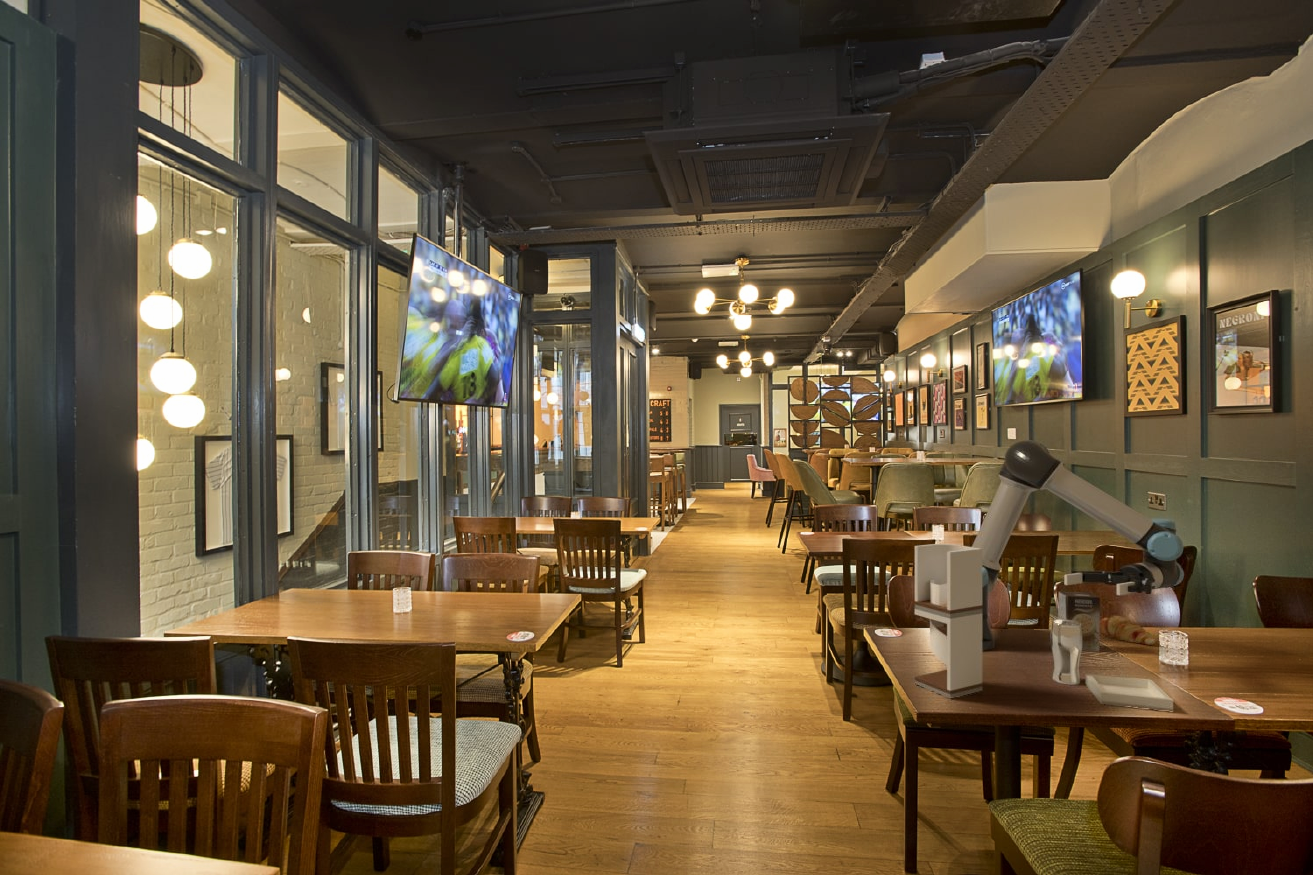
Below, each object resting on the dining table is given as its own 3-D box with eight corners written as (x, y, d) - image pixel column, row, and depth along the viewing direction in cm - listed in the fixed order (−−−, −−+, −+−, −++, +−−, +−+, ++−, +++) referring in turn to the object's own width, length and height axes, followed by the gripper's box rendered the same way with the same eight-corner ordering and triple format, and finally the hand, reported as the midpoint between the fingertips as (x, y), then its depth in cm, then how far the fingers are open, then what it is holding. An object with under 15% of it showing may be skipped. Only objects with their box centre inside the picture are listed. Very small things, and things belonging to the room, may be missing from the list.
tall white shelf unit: (946, 677, 174) (945, 542, 174) (982, 691, 165) (982, 548, 165) (914, 684, 169) (914, 545, 169) (950, 699, 160) (950, 552, 160)
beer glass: (1087, 686, 168) (1087, 626, 168) (1056, 684, 169) (1056, 625, 170) (1075, 676, 175) (1075, 619, 175) (1046, 675, 176) (1046, 618, 176)
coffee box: (1066, 650, 198) (1066, 595, 198) (1057, 643, 204) (1057, 590, 204) (1100, 651, 196) (1100, 597, 196) (1090, 645, 202) (1090, 592, 202)
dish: (1101, 704, 157) (1101, 692, 157) (1085, 683, 170) (1085, 672, 170) (1173, 712, 152) (1173, 700, 152) (1151, 690, 165) (1151, 679, 165)
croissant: (1161, 657, 202) (1170, 633, 203) (1142, 645, 199) (1151, 620, 200) (1093, 636, 222) (1102, 614, 223) (1075, 625, 219) (1083, 602, 220)
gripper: (1191, 600, 174) (1142, 609, 165) (1093, 582, 197) (1046, 589, 188) (1190, 571, 174) (1142, 578, 165) (1093, 557, 197) (1045, 562, 188)
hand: (1090, 584), depth 176 cm, fingers open, 13 cm apart
